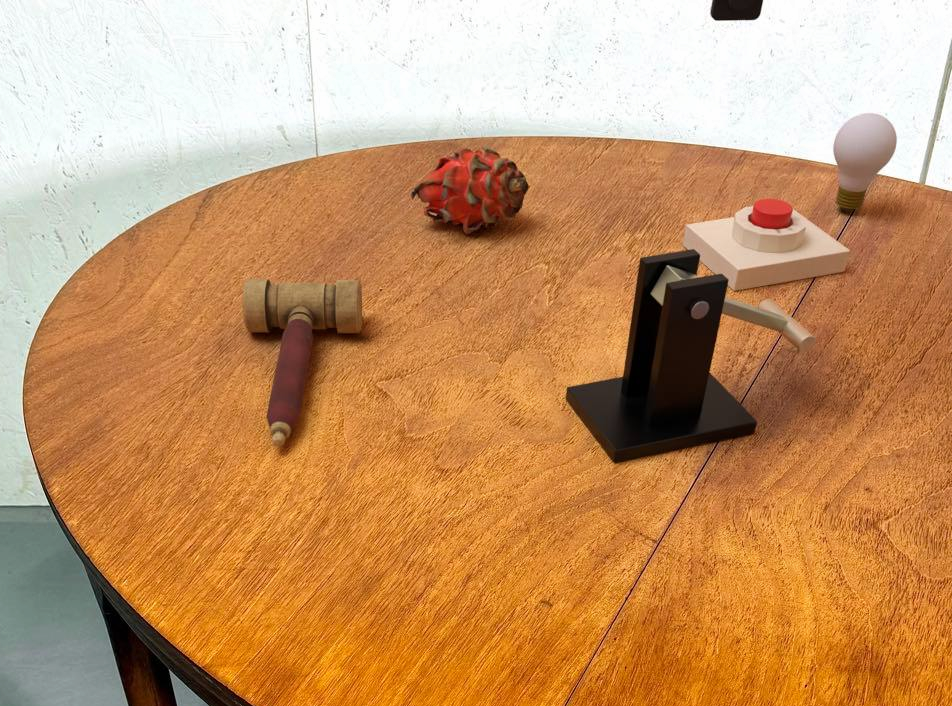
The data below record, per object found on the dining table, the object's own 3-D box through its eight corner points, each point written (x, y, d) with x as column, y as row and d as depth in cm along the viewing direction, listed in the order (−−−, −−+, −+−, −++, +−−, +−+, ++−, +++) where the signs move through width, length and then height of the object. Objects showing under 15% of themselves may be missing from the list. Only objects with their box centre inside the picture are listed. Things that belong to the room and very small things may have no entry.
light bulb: (809, 214, 111) (833, 118, 105) (828, 194, 115) (852, 100, 108) (865, 228, 109) (894, 130, 102) (883, 207, 112) (911, 111, 106)
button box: (786, 228, 109) (795, 190, 106) (844, 271, 102) (855, 232, 99) (682, 245, 106) (688, 207, 104) (733, 291, 99) (742, 251, 97)
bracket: (697, 373, 89) (725, 229, 80) (754, 433, 82) (792, 284, 74) (565, 399, 86) (580, 253, 78) (613, 463, 80) (636, 311, 71)
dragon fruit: (534, 243, 110) (420, 257, 112) (528, 169, 112) (416, 185, 114) (531, 201, 102) (408, 217, 104) (524, 122, 104) (403, 139, 106)
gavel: (342, 421, 78) (207, 419, 79) (345, 467, 82) (216, 466, 82) (360, 269, 93) (247, 268, 93) (363, 314, 96) (253, 313, 97)
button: (775, 213, 103) (779, 196, 102) (796, 228, 101) (800, 211, 100) (742, 218, 103) (746, 201, 101) (763, 234, 100) (766, 216, 99)
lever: (762, 322, 85) (779, 295, 84) (805, 360, 81) (823, 333, 80) (637, 282, 79) (654, 253, 78) (676, 321, 75) (694, 290, 74)
